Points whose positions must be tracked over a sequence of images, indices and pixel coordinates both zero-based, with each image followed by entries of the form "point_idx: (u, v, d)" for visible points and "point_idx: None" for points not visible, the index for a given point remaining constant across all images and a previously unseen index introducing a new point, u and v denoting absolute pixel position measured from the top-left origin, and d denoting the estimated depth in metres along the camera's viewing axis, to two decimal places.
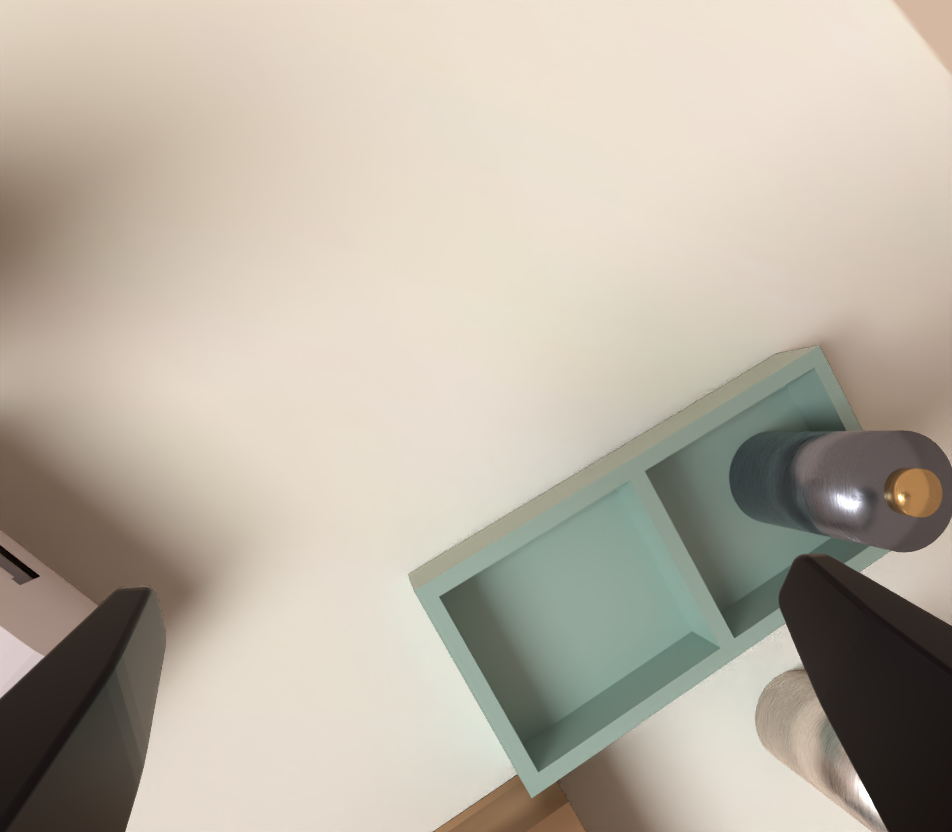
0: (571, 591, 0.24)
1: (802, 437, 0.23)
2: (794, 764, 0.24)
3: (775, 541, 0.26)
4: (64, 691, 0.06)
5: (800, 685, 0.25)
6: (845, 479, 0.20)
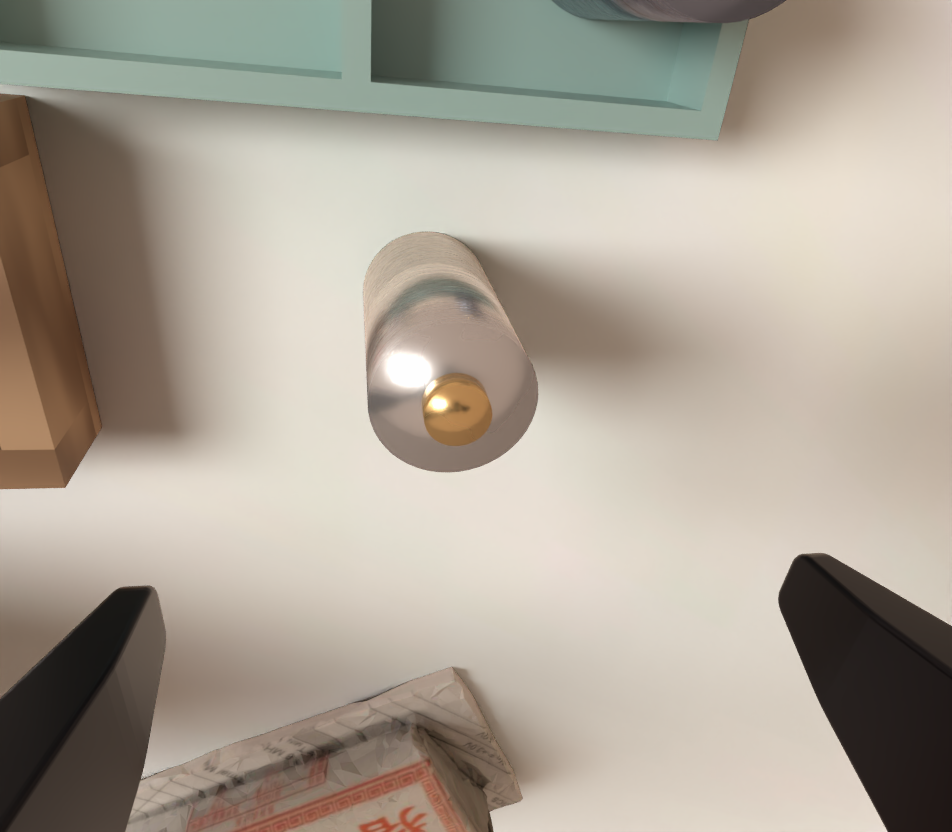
0: None
1: None
2: (364, 314, 0.17)
3: (542, 37, 0.16)
4: (64, 691, 0.06)
5: (443, 245, 0.17)
6: None
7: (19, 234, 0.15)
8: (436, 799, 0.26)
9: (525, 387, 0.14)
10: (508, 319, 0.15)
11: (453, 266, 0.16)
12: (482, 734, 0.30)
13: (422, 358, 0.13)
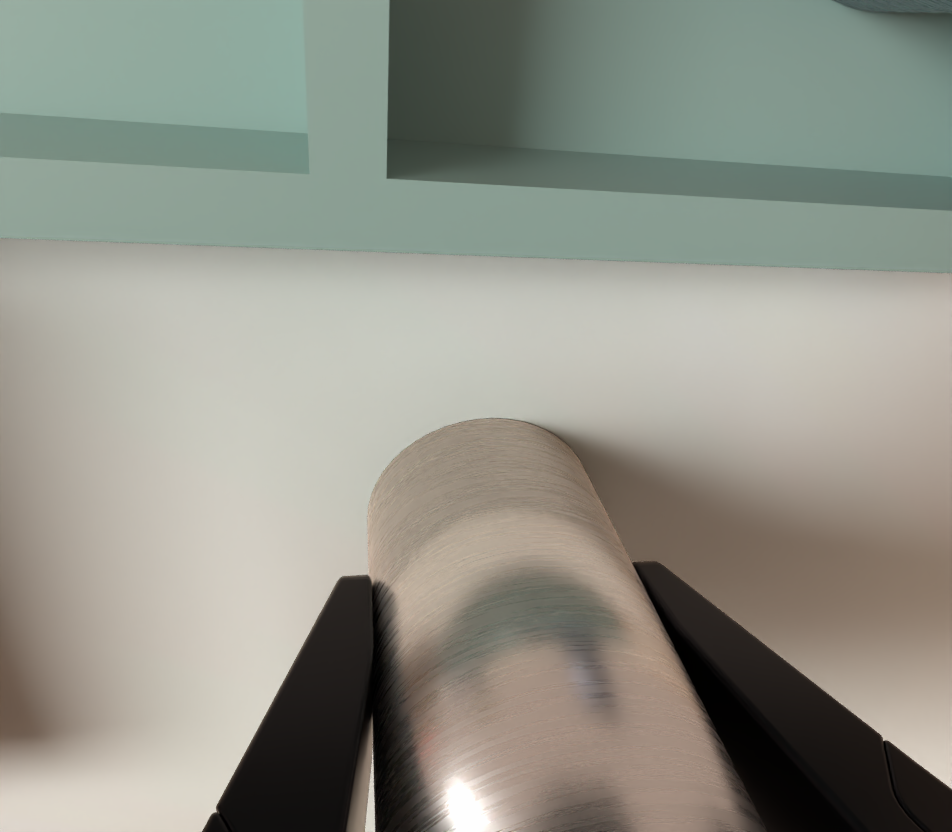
0: None
1: None
2: None
3: (764, 51, 0.07)
4: (341, 671, 0.07)
5: (526, 465, 0.09)
6: None
7: None
8: None
9: None
10: (703, 707, 0.07)
11: (564, 553, 0.07)
12: None
13: None
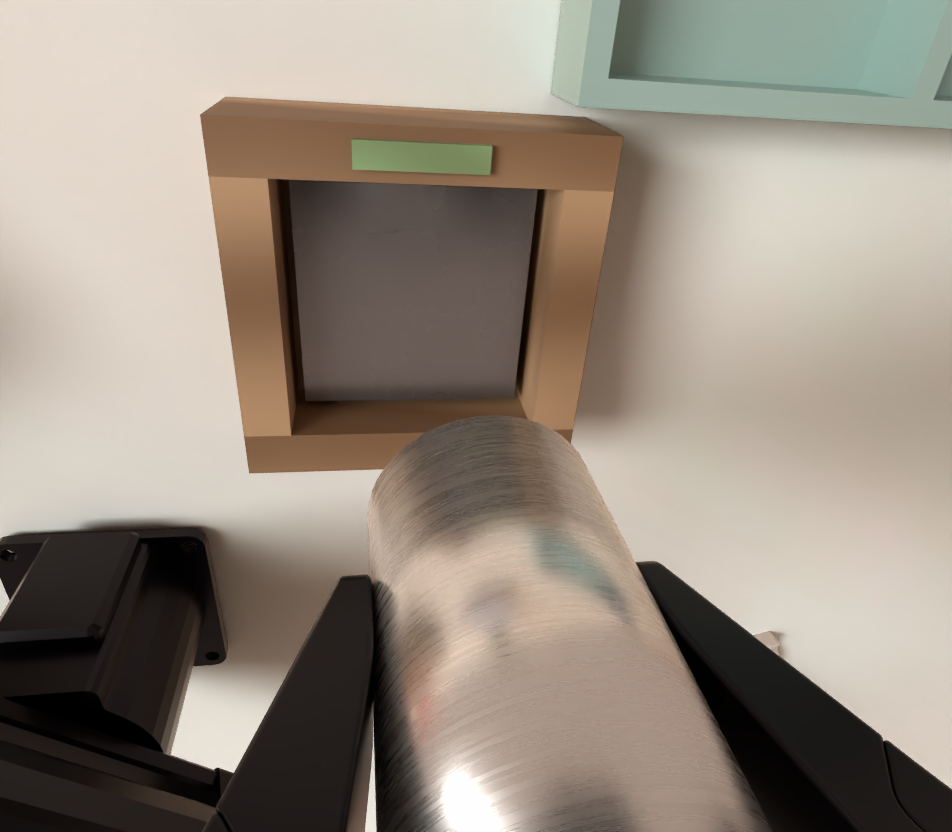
0: None
1: None
2: None
3: None
4: (341, 671, 0.07)
5: (528, 462, 0.09)
6: None
7: None
8: None
9: None
10: (707, 705, 0.07)
11: (567, 550, 0.07)
12: None
13: None
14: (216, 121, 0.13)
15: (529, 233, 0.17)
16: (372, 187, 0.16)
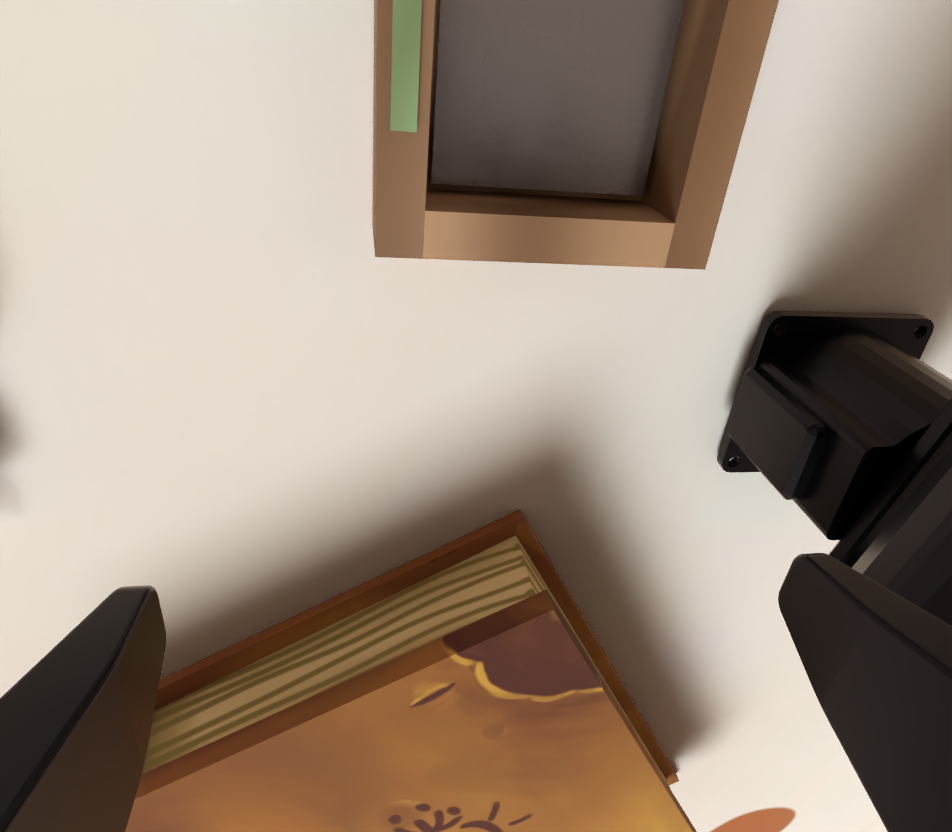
0: None
1: None
2: None
3: None
4: (64, 691, 0.06)
5: None
6: None
7: None
8: None
9: None
10: None
11: None
12: None
13: None
14: (379, 245, 0.16)
15: None
16: (439, 103, 0.17)
